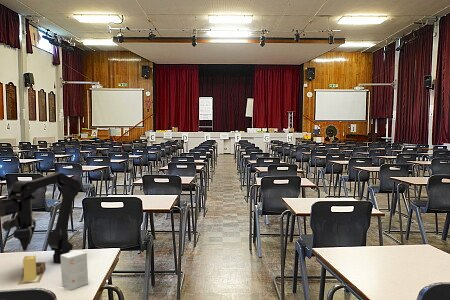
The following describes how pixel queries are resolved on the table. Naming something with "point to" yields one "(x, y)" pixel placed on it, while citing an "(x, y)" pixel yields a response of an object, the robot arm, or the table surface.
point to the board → (32, 280)
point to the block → (29, 268)
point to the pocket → (39, 268)
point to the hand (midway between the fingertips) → (26, 247)
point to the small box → (74, 269)
